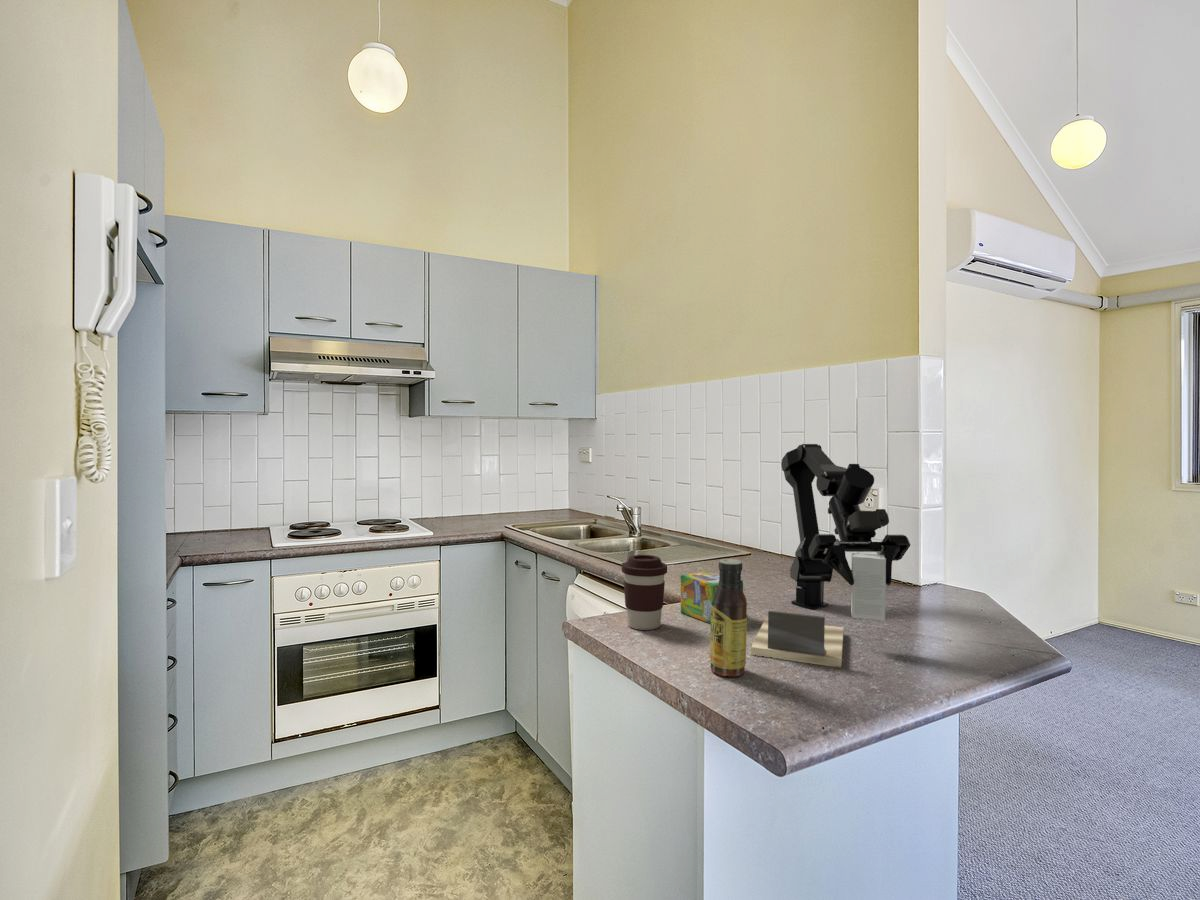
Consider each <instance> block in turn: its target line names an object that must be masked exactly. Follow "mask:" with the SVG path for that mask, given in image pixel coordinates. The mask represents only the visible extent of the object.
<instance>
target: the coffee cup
mask: <svg viewBox="0 0 1200 900" xmlns="http://www.w3.org/2000/svg"><path fill="white" fill-rule="evenodd" d="M621 572H622V574H624V580H623V586H624V587H623V588H624V589H623V590H624V604H625V608H626V623H627V626H629V627H630V628H631V629H635V630H638V629H639V630H638V631H651V630H655V629H658V628H659V627H660V626H661V624H662V610H663V607H664V596H665V586H666V585H665V575H666V574H667V573H668V564H666V563H664V562H662V560H661V557H659V556H657V555H653V554H635V555H631V556H629V557H628V559H627V561H625V562H623V563H622V564H621Z"/></svg>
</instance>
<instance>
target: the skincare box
mask: <svg viewBox="0 0 1200 900" xmlns="http://www.w3.org/2000/svg"><path fill="white" fill-rule="evenodd" d="M851 572H852V575H853V579H854V584H853V585H850V587H851V588H850V589H851V595H850V597H851V598H850V599H851V600H850V604H851V605H850V613H851V617H852V618H856V619H865V620H866V619H867V620H873V621H874V620H875V621H885V620H886V596H887V595H886V590H887V589H886V586H887V584H886V559H885V557H884V555H877V554H874V553H873V554H872V553H861V552H851Z"/></svg>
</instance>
